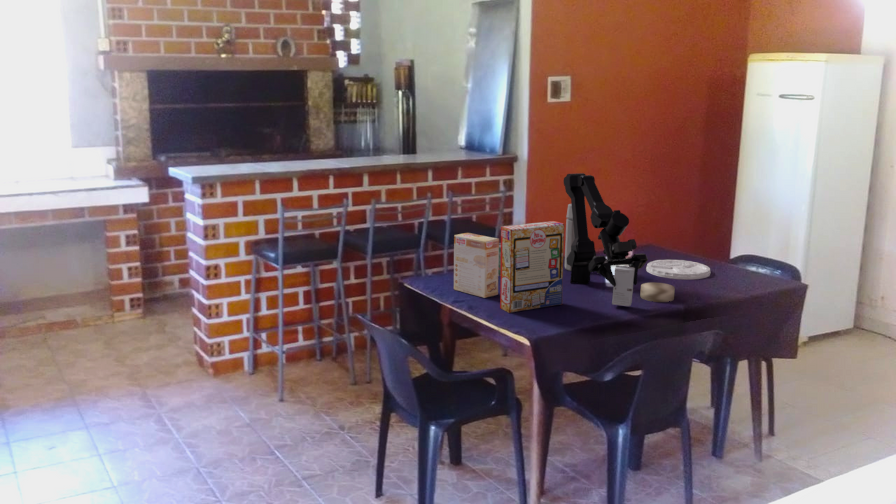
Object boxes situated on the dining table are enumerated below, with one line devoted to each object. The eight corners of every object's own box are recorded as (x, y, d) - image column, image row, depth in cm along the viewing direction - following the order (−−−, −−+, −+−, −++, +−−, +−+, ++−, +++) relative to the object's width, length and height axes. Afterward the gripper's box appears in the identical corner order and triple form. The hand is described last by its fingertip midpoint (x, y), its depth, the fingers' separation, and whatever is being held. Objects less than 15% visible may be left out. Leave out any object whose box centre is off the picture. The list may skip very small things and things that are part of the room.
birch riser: (641, 301, 268) (642, 290, 267) (639, 292, 278) (639, 281, 277) (675, 303, 266) (676, 291, 265) (672, 294, 276) (672, 283, 276)
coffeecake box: (498, 294, 274) (499, 238, 270) (484, 298, 269) (485, 241, 265) (467, 286, 285) (467, 231, 280) (452, 289, 280) (453, 234, 276)
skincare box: (611, 304, 259) (613, 268, 256) (613, 301, 263) (615, 265, 261) (631, 306, 257) (633, 270, 255) (632, 302, 262) (634, 266, 259)
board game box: (552, 300, 268) (555, 220, 262) (563, 305, 262) (566, 223, 256) (498, 308, 259) (500, 225, 253) (509, 313, 253) (511, 229, 247)
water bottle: (579, 272, 304) (582, 207, 299) (560, 269, 308) (562, 205, 303) (588, 267, 312) (591, 203, 306) (570, 265, 316) (572, 202, 310)
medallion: (664, 282, 293) (665, 275, 293) (631, 264, 319) (631, 259, 318) (722, 278, 299) (723, 272, 298) (685, 261, 324) (685, 256, 324)
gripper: (594, 231, 256) (607, 274, 248) (647, 229, 261) (662, 270, 253) (582, 250, 265) (595, 291, 258) (633, 247, 270) (648, 288, 263)
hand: (625, 285), depth 258 cm, fingers closed on skincare box, 7 cm apart
